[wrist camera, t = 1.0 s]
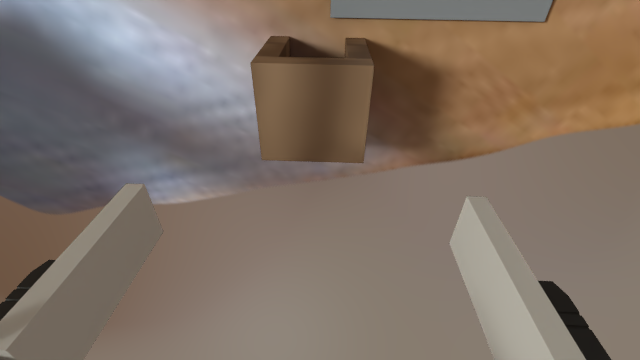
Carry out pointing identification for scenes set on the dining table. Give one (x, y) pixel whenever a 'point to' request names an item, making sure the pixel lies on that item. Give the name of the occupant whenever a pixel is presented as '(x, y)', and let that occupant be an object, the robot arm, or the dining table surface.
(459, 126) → the dining table surface
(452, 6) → the mat
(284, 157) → the notched open box
